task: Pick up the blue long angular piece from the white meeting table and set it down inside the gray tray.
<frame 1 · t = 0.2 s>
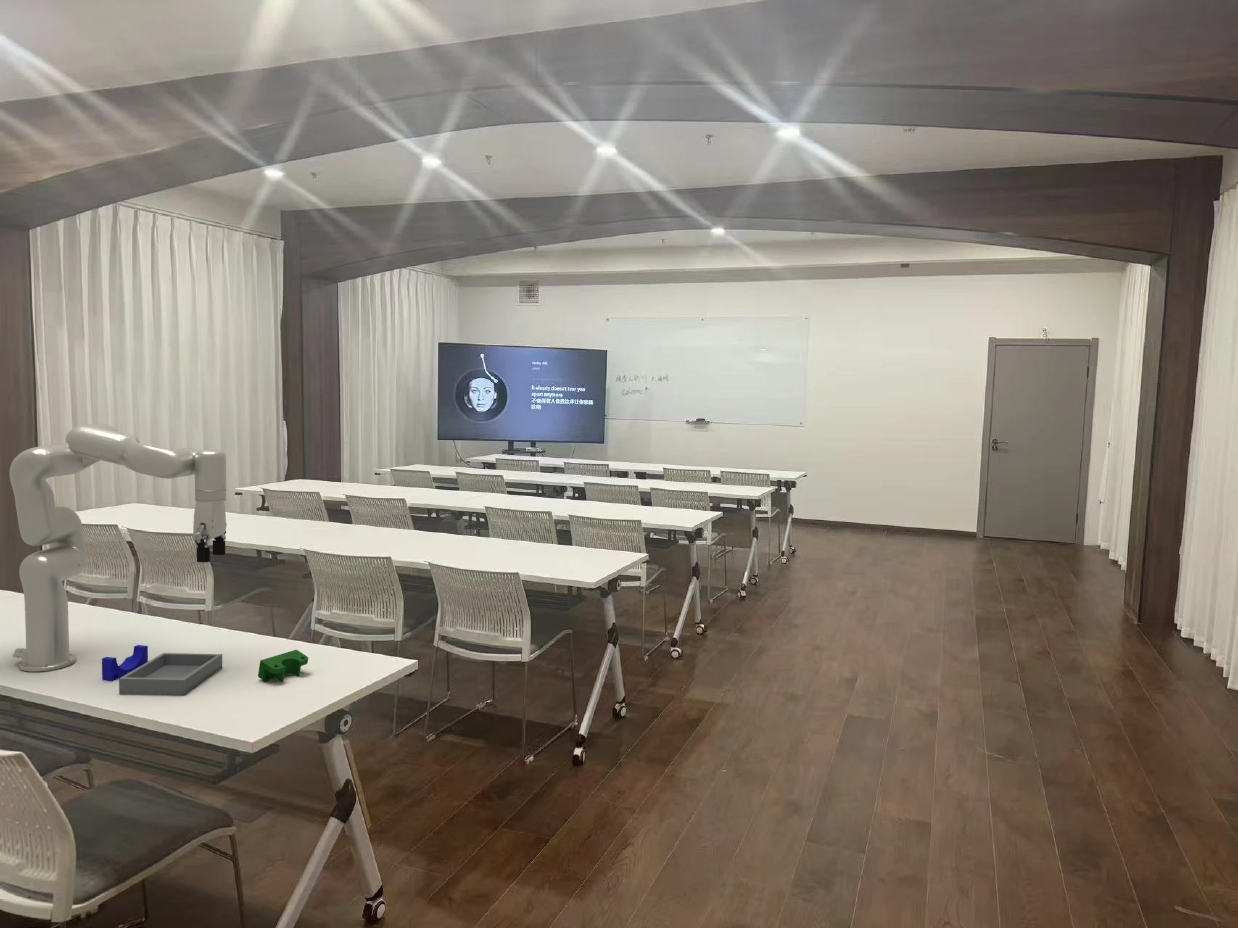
hand: (211, 558, 215), 31 cm above the table, fingers open, 9 cm apart
blue long angular piece: (123, 674, 212), on the table
gray tray: (173, 680, 207), on the table
clamp: (284, 678, 212), on the table
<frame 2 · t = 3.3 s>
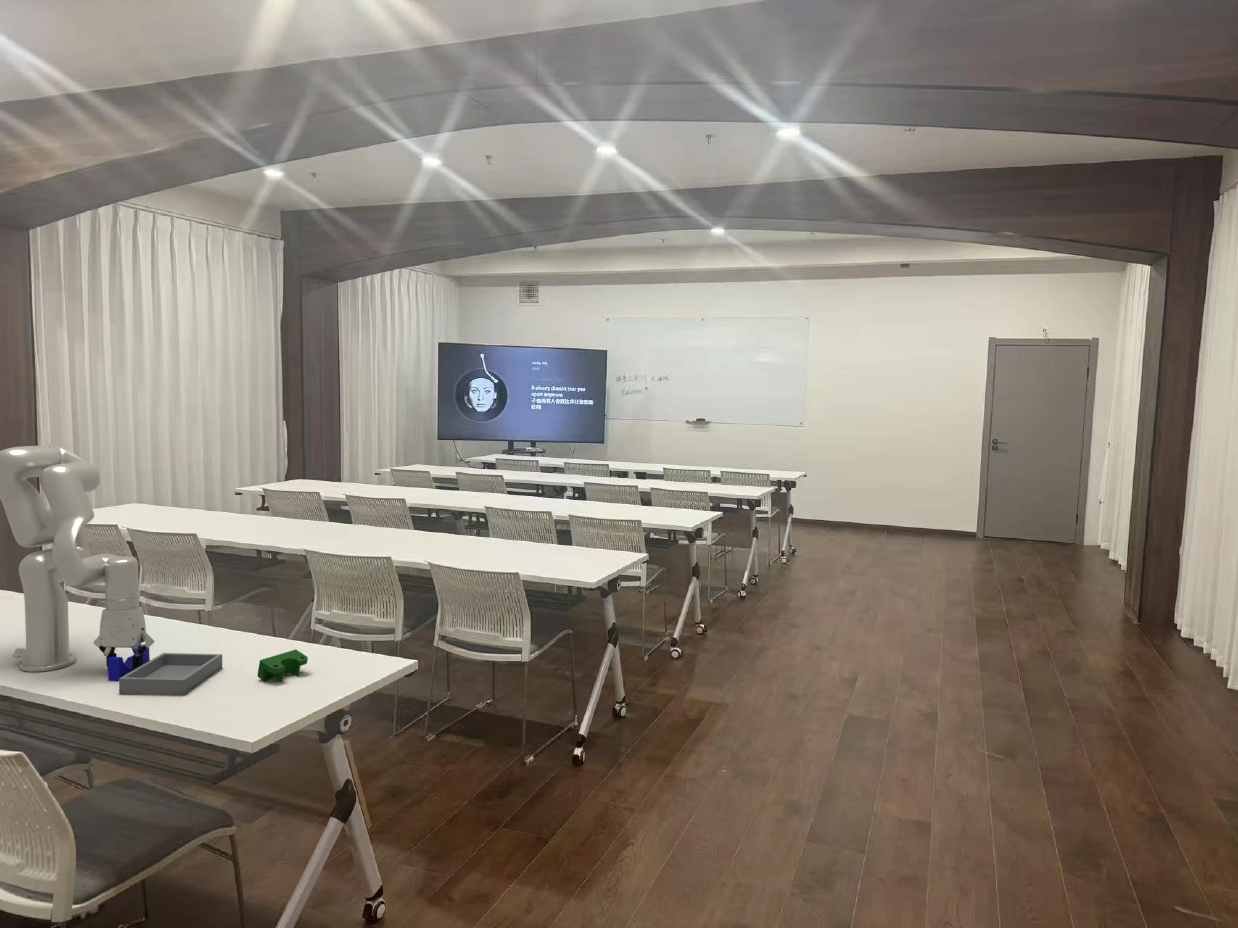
hand: (124, 668, 211), 1 cm above the table, fingers open, 6 cm apart
blue long angular piece: (127, 673, 212), on the table, touching gripper
everything else where it was.
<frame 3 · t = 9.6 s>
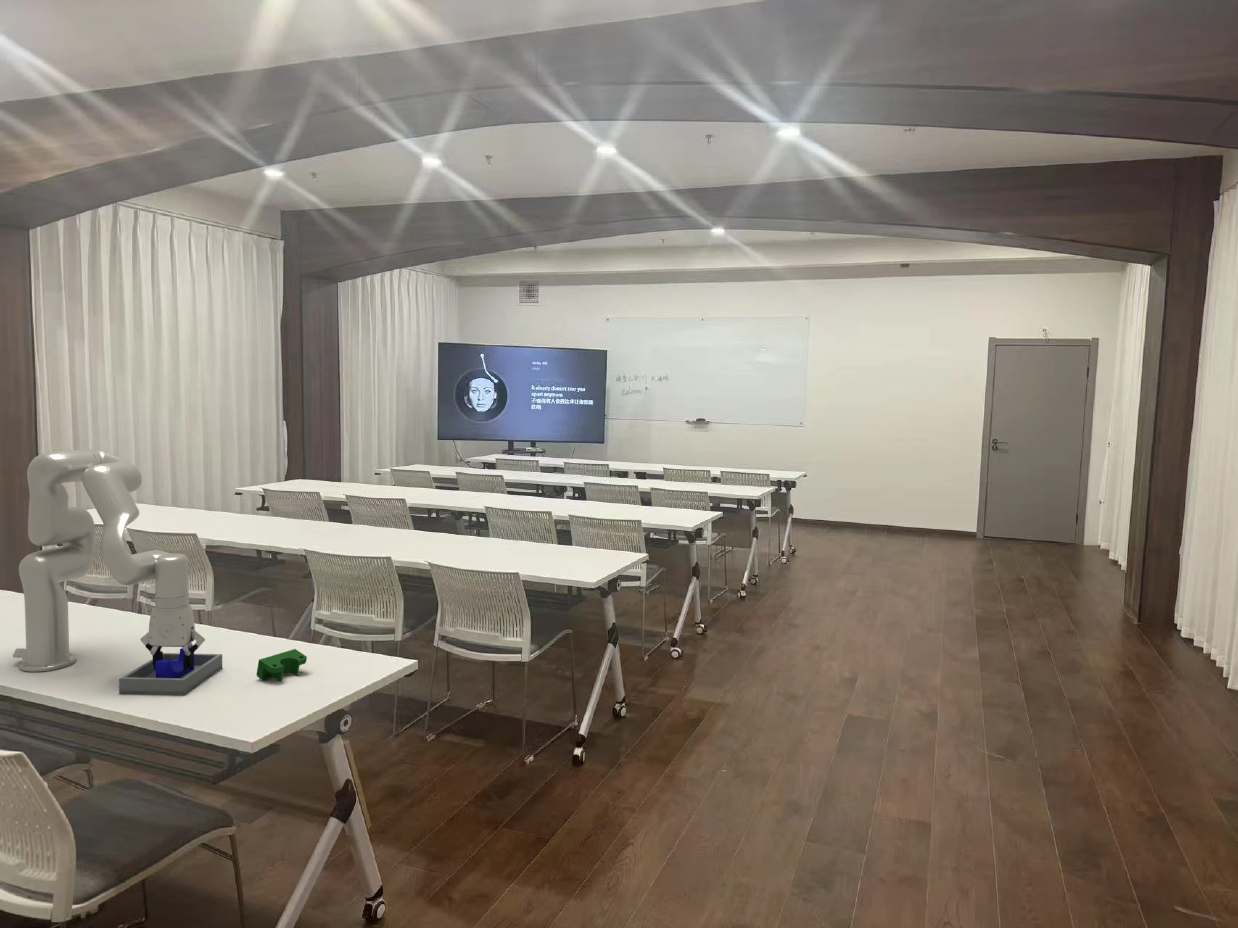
hand: (173, 667, 207), 3 cm above the table, fingers open, 7 cm apart
blue long angular piece: (172, 677, 207), point 1 cm above the table, touching gray tray
everything else where it was.
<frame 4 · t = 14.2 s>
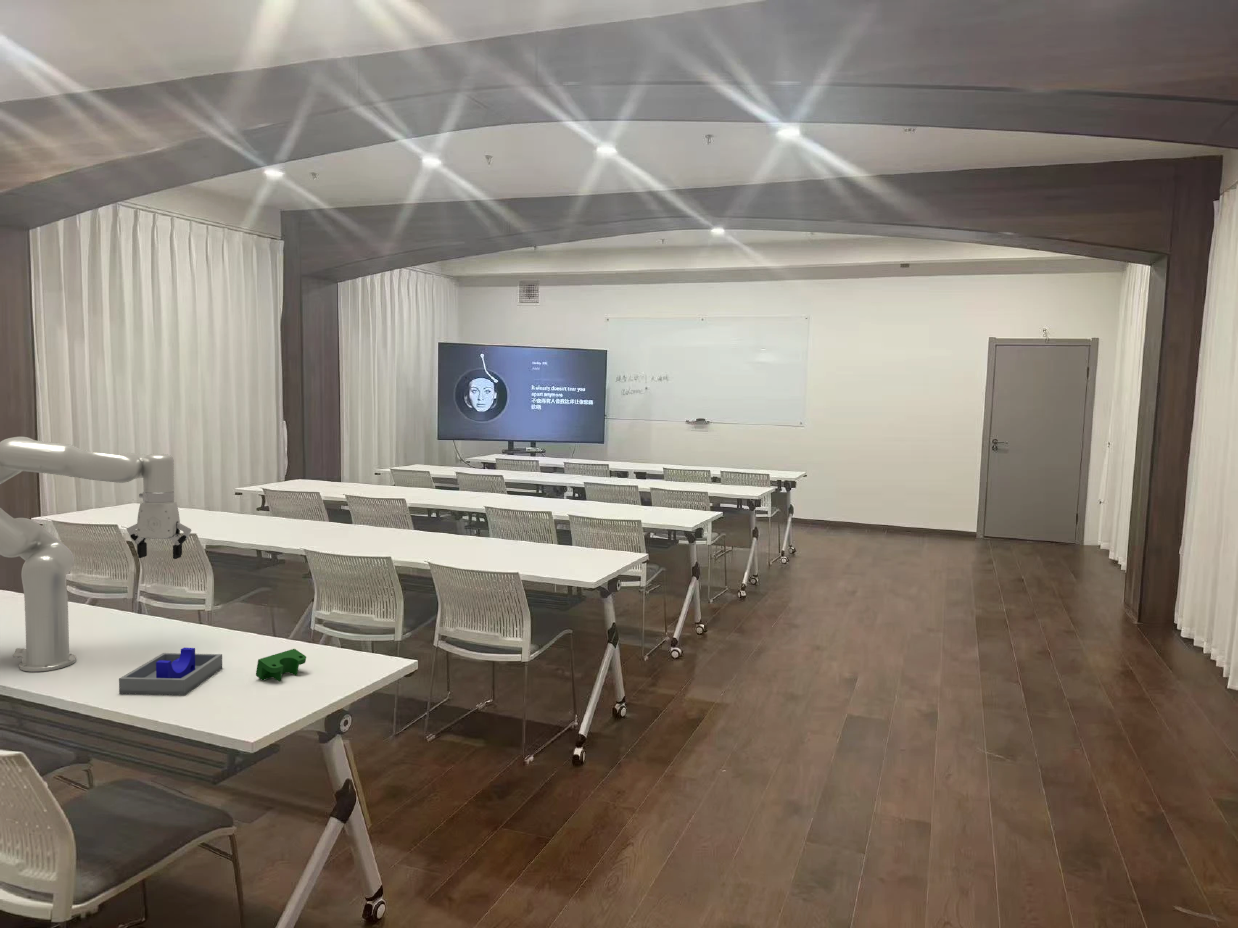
hand: (159, 557, 224), 28 cm above the table, fingers open, 9 cm apart
at the end: blue long angular piece inside the target area on the gray tray (0.1 cm from its centre), point 0.8 cm above the gray tray's base; the gripper is holding nothing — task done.
